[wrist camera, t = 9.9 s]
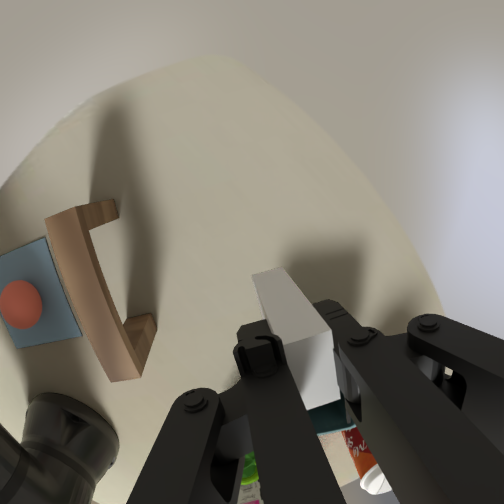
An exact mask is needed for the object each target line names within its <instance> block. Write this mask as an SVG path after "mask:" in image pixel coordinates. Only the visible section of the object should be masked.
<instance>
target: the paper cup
mask: <svg viewBox="0 0 504 504" xmlns="http://www.w3.org/2000/svg"><path fill="white" fill-rule="evenodd" d="M341 432H342V435H343V437H344V440H345V442H346V445H347V447H348V449H349V452H350V454H351V457H352V459H353V462H354V464H355V466H356V469H357V471H358V474H359V476H360V479H361V482H360V485H361V487H362V488H363V489H365V490H367V491H368V493H370V494H381V493H385V492H388V491H390V490H392V488H391V487H390V485H389V483H388V481H387V480H386V478H385V476H384V474H383V472H382V471H381V469H380V467H379V465H378V464H377V462H376V460H375V458H374V457H373V455H372V453H371V451H370V450H369V448H368V446H367V444H366V443H365V441H364V439H363V437H362V436H361V434H360V432H359V430H358V428H357V427H355V428H352V429H349V430H344V431H341Z"/></svg>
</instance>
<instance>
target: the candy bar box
mask: <svg viewBox="0 0 504 504" xmlns="http://www.w3.org/2000/svg"><path fill="white" fill-rule="evenodd" d="M237 504H264V503H263V498H262V493H261V488H260V482H259V479H258V480H257V481H256V482H253V483H251V484H248V485H241V486H240V491H239V497H238V502H237Z"/></svg>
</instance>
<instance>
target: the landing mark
mask: <svg viewBox="0 0 504 504" xmlns="http://www.w3.org/2000/svg"><path fill="white" fill-rule="evenodd" d="M16 280H23V281H26V282H29V283H30V284H32V285H33V286H34V287H35V288H36V289H37V291H38V292H39V294H40V297H41V300H42V312H41V316H40V318H39V320H38V321H37V323H36V324H35V325H33V326H32V327H30V328H27V329H17V328H14V327H13V326H11V325H10V324H8V323H7V322H6V320H5V319H4V317H3V315H2V313H1V310H0V314H1V316H2V318H3V321H4V323H5V325H6V327H7V329H8V332H9V334H10V336H11V338H12V340H13V342H14V344H15V346H16V348H17V349H18V348H23V347H29V346H34V345H39V344H45V343H50V342H55V341H60V340H65V339H70V338H74V337H79V336H82V333H81V331H80V329H79V327H78V324H77V322H76V320H75V318H74V315H73V313H72V311H71V308H70V306H69V303H68V301H67V298H66V296H65V293H64V291H63V288H62V286H61V283H60V280H59V278H58V275H57V272H56V269H55V266H54V263H53V260H52V257H51V254H50V251H49V248H48V245H47V242H46V238H42V239H40V240H37V241H35V242H32V243H30V244H27V245H25V246H23V247H20V248H18V249H16V250H13V251H11V252H9V253H6V254H4V255H2V256H0V296H1V293H2V291H3V289H4V288H5V287H6V286H7V285H8V284H9V283H11V282H13V281H16Z"/></svg>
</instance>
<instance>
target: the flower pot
mask: <svg viewBox="0 0 504 504" xmlns="http://www.w3.org/2000/svg"><path fill="white" fill-rule="evenodd" d="M339 390H340V388H339ZM307 412H308V414H309V417H310V419H311V421H312V424H313V426H314V429H315V431H316V433H317V436H320V435H325V434H330V433H335V432H339V431H344V430H349V429H352V428H355V427H356V425H355V423H354V421H353V420H352V418H351V417H350V419H351V423H349V424H347V419H346V408H345V398H344V395H343V393H342V391H341V390H340V399H338V400H336V401H333V402H330V403H327V404H324V405H321V406H318V407H315V408H312V409H309V410H307Z"/></svg>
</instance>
